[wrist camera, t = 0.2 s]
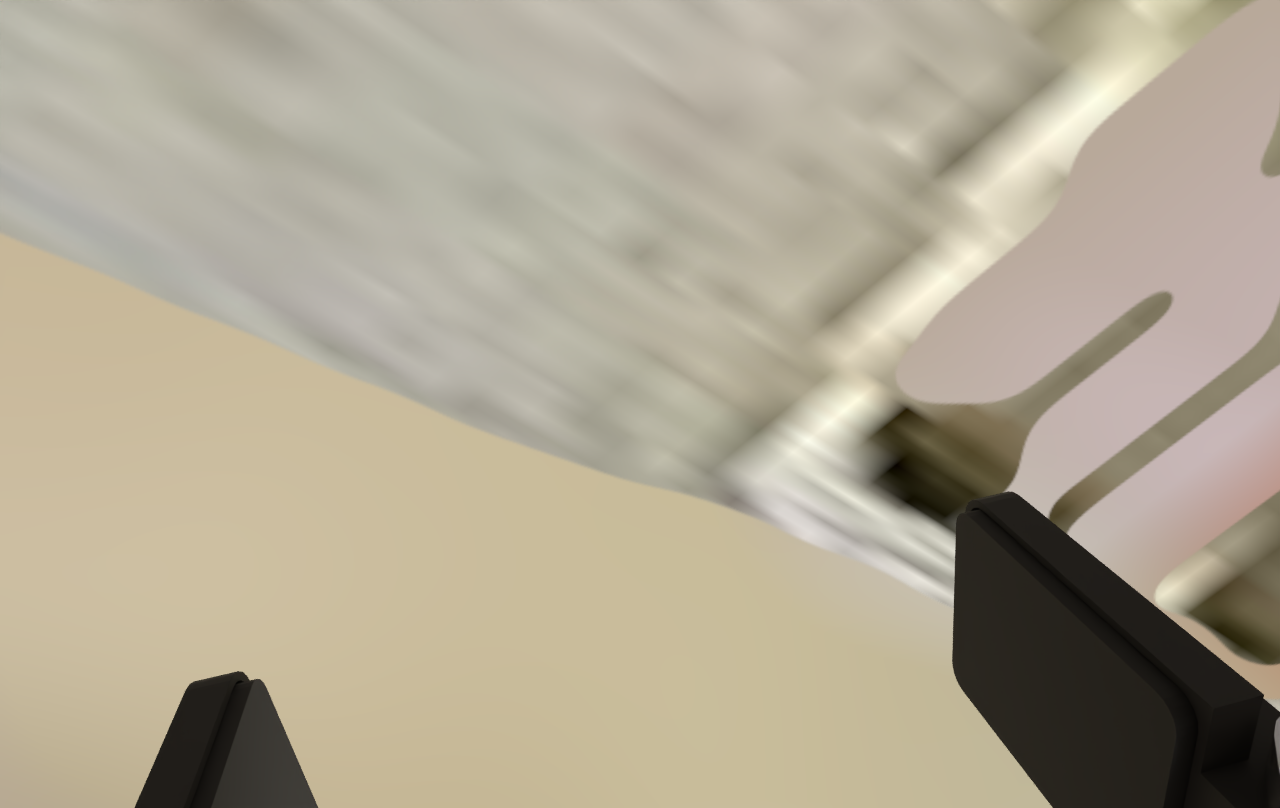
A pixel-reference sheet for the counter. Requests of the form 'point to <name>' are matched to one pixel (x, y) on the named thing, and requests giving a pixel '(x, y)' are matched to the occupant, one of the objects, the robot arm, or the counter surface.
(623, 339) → the counter surface
